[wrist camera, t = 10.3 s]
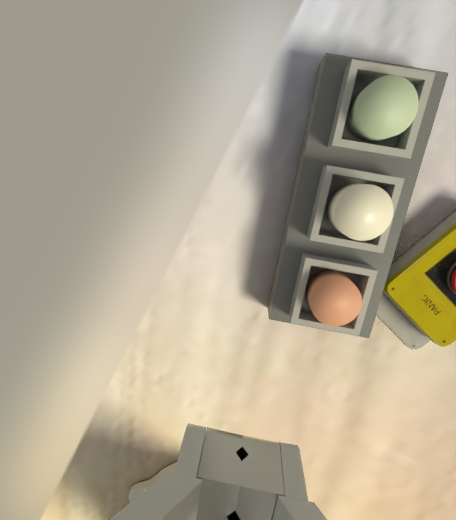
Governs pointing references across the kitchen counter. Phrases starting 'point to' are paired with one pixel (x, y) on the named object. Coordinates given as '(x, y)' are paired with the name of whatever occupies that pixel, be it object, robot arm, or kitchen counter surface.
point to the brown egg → (333, 298)
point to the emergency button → (423, 289)
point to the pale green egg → (383, 108)
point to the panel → (339, 175)
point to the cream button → (360, 211)
